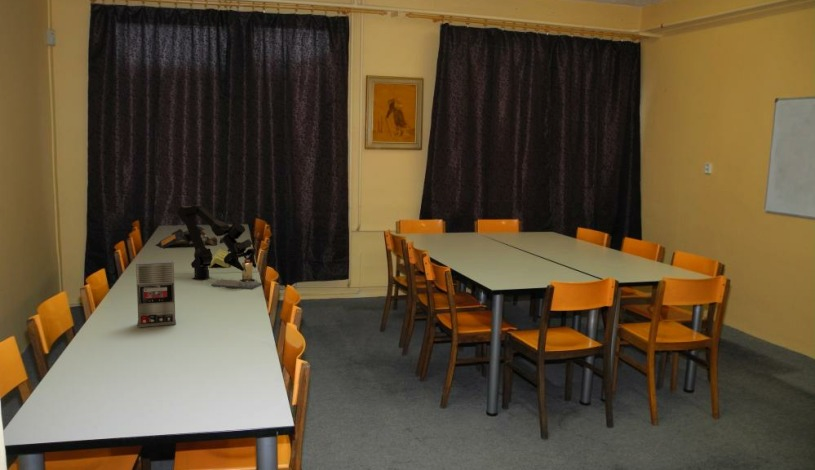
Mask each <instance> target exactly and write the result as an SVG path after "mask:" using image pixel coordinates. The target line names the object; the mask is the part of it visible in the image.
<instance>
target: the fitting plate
mask: <svg viewBox="0 0 815 470" xmlns="http://www.w3.org/2000/svg"><path fill="white" fill-rule="evenodd" d="M262 285H263V283H262V282H258V279H257V278H253V282H242V278H241V279H237V280H234V279H233V280H232V279H219V280H217V281H215V282H212V283H211V284H210V287H215V288H218V287H219V288H220V287H221V288H229V289H238V290H240V289H241V290H252V291H253V290H255V289H256V288H258V287H260V286H262Z"/></svg>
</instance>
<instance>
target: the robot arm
mask: <svg viewBox="0 0 815 470" xmlns="http://www.w3.org/2000/svg"><path fill="white" fill-rule="evenodd" d="M177 215H178V217H179V219H180V220H181V221H182V222H183V223H184V224H185V226H186V228H187V231H188V232H189V234H190V237H191V240H192V242H193V243H192V245H193V248H194V253H193V254H194V255H193V257H194V259H193V261H192V262H191V263H190V265H191V268H193V269H194V271H193V273H194V277H193V278H192V280H202V281H204V280H207V279H210V278H211V276H210V270H209V266H210V265H211V262H212V259H213V258H214V256H213V254H212V251H211V249H210V248H207V247H206V246H205V244H204V242H203V241H204V240H203V239H202V238H201V235H200V233H199V230H198V227H197V226H198V224H197V222H196V218H197V216H198V217H199V218H201V220H202V221H204V223H206V225H208V226H209V227H210V228H211V231H212V233H213V234H214V235H215V237H220V239H219V244H224V245H225V246H226V248H227V251H226V252H228V254H227V255H226V257H225V258H224V262H225V264H228V265H229V266H231V267H234V268H236V269H238V270H239V271H241V272H242V271H244V269H243V267H242V263H241V261H240V260H239V258H244V260H245V259H250V262H252V268H253V269H256V268H257V262H256V260H255V259H256V258H255V255H256V253H257V251H258V250H257V249H256V248H255V247H252V244H253V243H252V241H251V239H249V238H248V239H246V240H244V241H242V242H241V241H239V242H238V239H239V238H240V237H241V236H242V235H243V234H244V232H246V227H245V226H244V225H242V224H241V223H239V222H238V221H234V222H233V223H232V225H231V226H229V224H227V223H226V222H224V221H221V220H219V219H217V218H216V217H215V216H214V215H213V214H212V213H210V212H209V211H208V210H207V209H206V208H205V206H203V204H198V205H197V204H196V205H187V206H186V205H184V206H180V207H179V208H178V211H177ZM222 236H223V237H222Z"/></svg>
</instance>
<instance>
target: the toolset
mask: <svg viewBox="0 0 815 470" xmlns="http://www.w3.org/2000/svg"><path fill="white" fill-rule="evenodd" d="M197 227H198V230H199V233H200V235H201V238H202V240H205V243H206V244H207V246H211V247H212V246H215V245H218V241H219V239H217V236H213V237H211V238H210V237H209V236H208V235H206V230H205V228H203V227H202V226H199V225H197ZM180 241H185V242H186V243H187V244H188V245H189V246H190V245H191V244H192V245H193V242H192V240H191V237H190V234H189V232H188V230H185V231H183V229H182V228H179V229H178V230H176V231H173V232H171V235H169V236H168V237H165V238H163V239H162V240H160V241H159V242H158V243H157V244H155V246H156V245H157V246H159V248H160V249H165V248H167V247H169V246H171V245H174V244H175V243H179V242H180ZM157 246H156V247H157Z"/></svg>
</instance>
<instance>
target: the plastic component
mask: <svg viewBox="0 0 815 470" xmlns="http://www.w3.org/2000/svg"><path fill="white" fill-rule="evenodd" d="M228 253H229V252H228V251H225V250H223V249H221V248H220V249H219V248H218V250H217V251H216V253H215V254H214V256H213V257H212V258H213V259H212V262H211V265H210V266H208V268H212V266H213V265H215V264H217V265H218V266H221V267H223V268H226V269H227V268H229V267H230V265H228V264H225V262H224V258H225V257H226V255H227V254H228Z"/></svg>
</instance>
